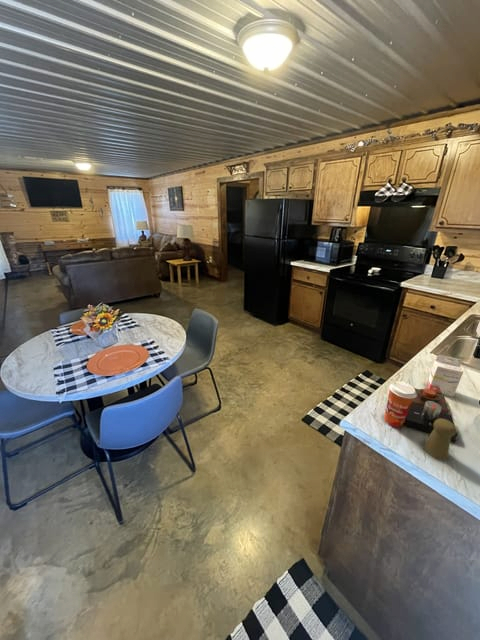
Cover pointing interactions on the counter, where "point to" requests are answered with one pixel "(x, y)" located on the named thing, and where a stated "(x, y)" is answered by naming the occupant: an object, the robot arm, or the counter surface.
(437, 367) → the ink cartridge box
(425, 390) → the button
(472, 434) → the counter surface
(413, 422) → the panel
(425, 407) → the knob
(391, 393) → the paper cup
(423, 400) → the button block
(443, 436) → the cork
